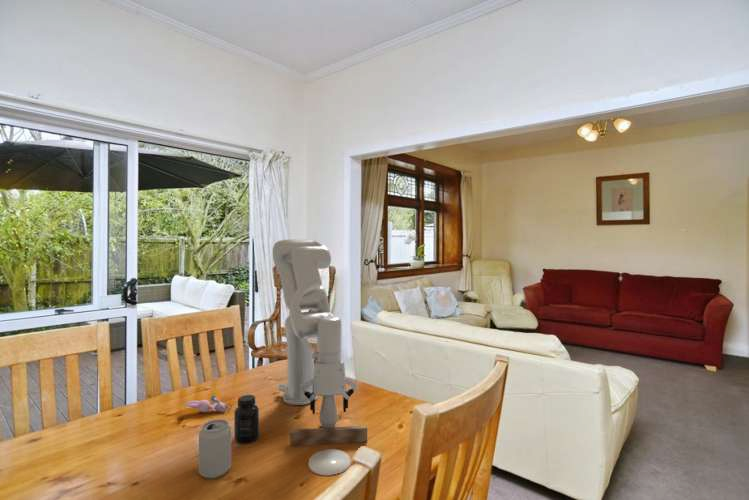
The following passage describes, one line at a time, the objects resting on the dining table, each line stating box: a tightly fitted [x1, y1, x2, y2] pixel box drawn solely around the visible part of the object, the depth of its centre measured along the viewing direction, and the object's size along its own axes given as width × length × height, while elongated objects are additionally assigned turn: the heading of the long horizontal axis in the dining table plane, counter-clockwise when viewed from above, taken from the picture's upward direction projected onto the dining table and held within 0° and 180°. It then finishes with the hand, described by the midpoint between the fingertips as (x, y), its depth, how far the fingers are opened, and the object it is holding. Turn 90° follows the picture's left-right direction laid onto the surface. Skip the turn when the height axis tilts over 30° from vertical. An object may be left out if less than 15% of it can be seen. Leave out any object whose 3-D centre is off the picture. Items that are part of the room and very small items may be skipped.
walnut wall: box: [289, 425, 368, 447], centre depth 109 cm, size 22×2×4 cm, turn 98°
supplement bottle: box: [233, 394, 260, 445], centre depth 111 cm, size 7×7×12 cm
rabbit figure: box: [183, 394, 233, 413], centre depth 128 cm, size 6×6×15 cm
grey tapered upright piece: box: [318, 395, 339, 428], centre depth 119 cm, size 6×6×13 cm
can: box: [198, 418, 232, 479], centre depth 95 cm, size 8×8×12 cm
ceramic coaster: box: [308, 448, 352, 476], centre depth 100 cm, size 11×11×1 cm
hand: (329, 411), depth 119 cm, fingers open, 9 cm apart
